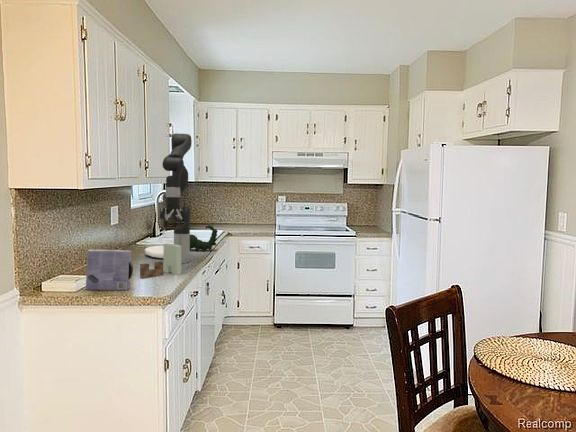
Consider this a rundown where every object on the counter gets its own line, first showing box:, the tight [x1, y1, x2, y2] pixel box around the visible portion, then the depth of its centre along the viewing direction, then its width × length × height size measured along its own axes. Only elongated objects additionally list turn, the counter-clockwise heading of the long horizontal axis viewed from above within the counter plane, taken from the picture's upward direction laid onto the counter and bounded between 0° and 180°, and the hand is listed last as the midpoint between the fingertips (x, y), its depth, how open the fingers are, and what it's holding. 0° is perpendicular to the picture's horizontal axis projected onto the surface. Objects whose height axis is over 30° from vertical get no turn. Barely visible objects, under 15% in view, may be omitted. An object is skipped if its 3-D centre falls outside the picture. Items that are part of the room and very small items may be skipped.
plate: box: [144, 245, 164, 259], centre depth 290 cm, size 28×6×27 cm
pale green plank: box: [162, 242, 182, 276], centre depth 240 cm, size 11×3×15 cm, turn 51°
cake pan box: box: [85, 249, 134, 291], centre depth 203 cm, size 19×5×18 cm, turn 99°
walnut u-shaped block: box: [139, 260, 164, 279], centre depth 231 cm, size 12×2×7 cm, turn 141°
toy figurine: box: [190, 225, 218, 252], centre depth 313 cm, size 9×19×25 cm
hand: (172, 227), depth 239 cm, fingers open, 8 cm apart
